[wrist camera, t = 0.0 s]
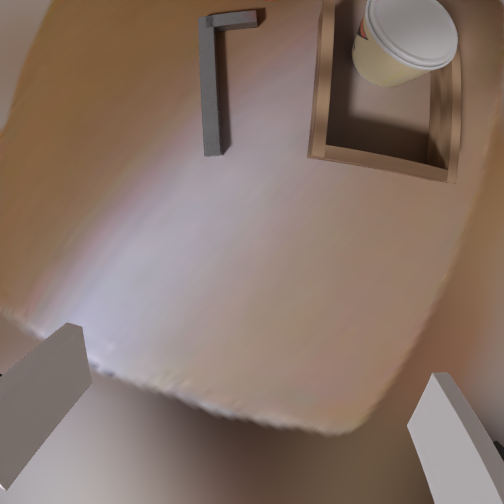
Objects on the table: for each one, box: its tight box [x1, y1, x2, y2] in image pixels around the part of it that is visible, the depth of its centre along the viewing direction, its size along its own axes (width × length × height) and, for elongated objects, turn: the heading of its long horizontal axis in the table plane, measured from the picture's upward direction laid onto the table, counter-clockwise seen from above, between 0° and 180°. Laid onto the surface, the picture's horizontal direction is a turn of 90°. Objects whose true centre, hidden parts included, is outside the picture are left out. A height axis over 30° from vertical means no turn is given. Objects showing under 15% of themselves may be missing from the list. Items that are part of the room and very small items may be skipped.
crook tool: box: [198, 10, 258, 157], centre depth 32 cm, size 18×7×2 cm, turn 4°
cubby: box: [307, 0, 461, 184], centre depth 29 cm, size 18×16×6 cm
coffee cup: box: [352, 0, 458, 88], centre depth 25 cm, size 9×9×12 cm
